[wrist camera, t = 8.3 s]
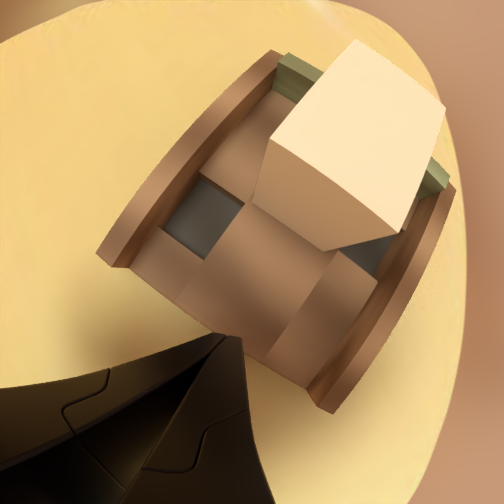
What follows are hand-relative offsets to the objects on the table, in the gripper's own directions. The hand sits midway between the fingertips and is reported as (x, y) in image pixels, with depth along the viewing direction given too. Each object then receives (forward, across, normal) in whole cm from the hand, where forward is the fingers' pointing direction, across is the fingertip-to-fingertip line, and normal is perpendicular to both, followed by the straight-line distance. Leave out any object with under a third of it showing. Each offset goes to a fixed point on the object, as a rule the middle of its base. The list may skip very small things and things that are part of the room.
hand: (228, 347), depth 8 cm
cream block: (+11, +2, +4) cm, 12 cm away
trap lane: (+11, +1, +1) cm, 11 cm away
